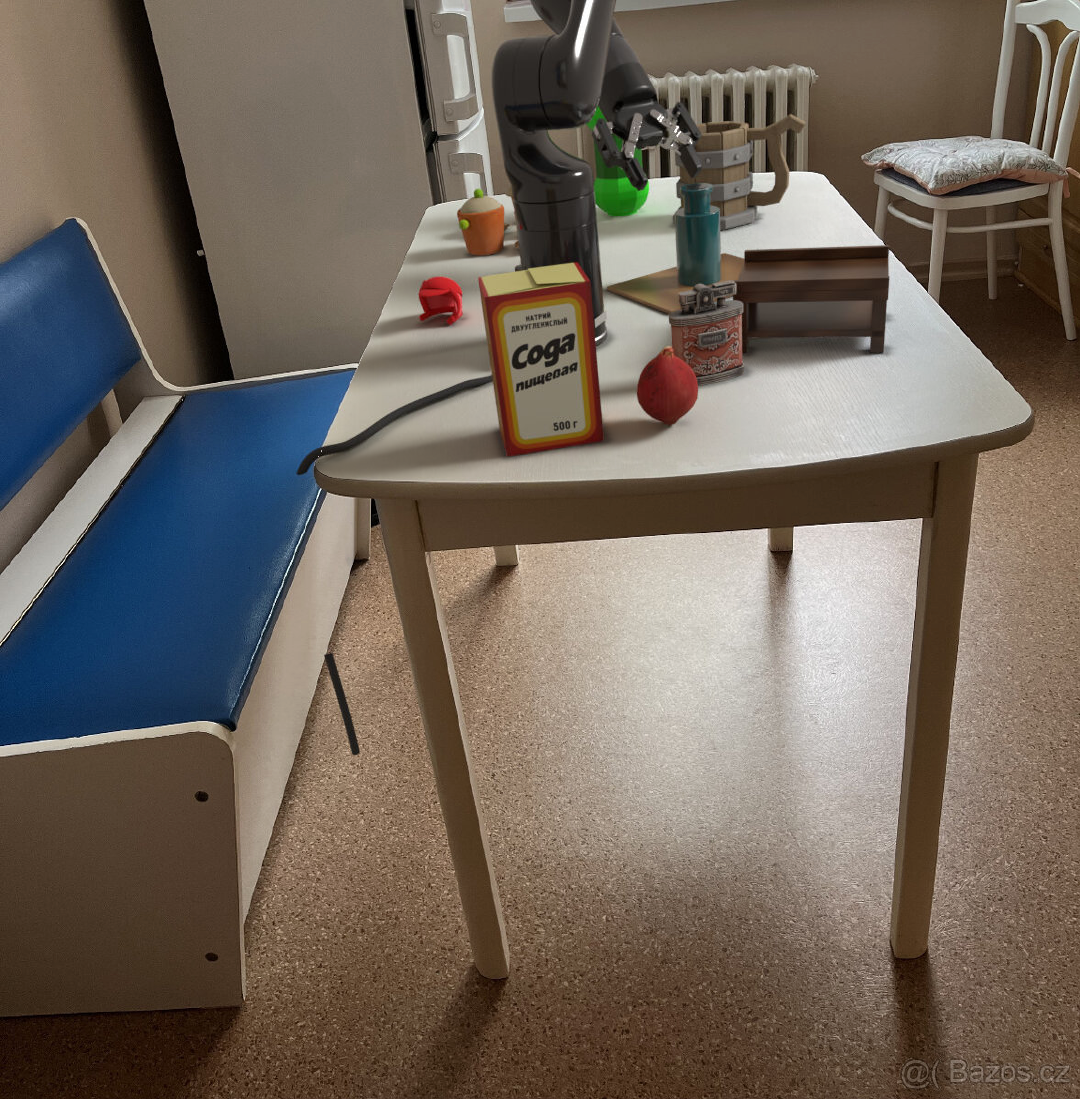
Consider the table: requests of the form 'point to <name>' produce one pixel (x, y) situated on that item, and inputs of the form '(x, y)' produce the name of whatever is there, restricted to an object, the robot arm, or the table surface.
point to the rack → (815, 293)
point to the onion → (667, 387)
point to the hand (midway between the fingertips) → (670, 180)
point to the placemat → (670, 285)
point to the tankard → (738, 167)
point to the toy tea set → (483, 224)
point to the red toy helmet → (440, 298)
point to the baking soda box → (543, 357)
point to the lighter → (709, 332)
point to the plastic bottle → (616, 182)
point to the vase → (698, 237)
